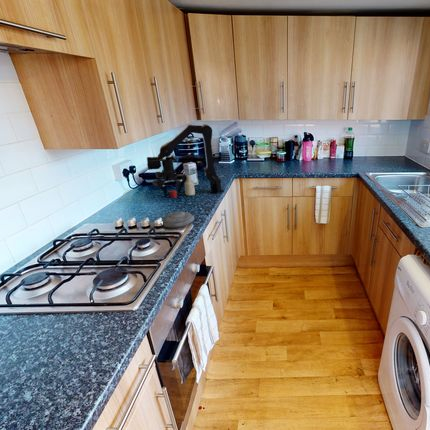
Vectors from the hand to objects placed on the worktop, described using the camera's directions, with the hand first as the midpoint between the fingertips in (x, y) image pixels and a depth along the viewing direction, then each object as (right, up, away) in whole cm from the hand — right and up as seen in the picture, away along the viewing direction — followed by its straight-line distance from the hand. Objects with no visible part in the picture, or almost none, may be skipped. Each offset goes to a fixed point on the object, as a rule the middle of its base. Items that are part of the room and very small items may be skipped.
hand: (172, 194), depth 168 cm
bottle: (+9, 0, +5) cm, 10 cm away
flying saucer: (+16, -16, -32) cm, 39 cm away
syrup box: (+4, +8, +23) cm, 24 cm away
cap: (0, -1, +1) cm, 2 cm away
